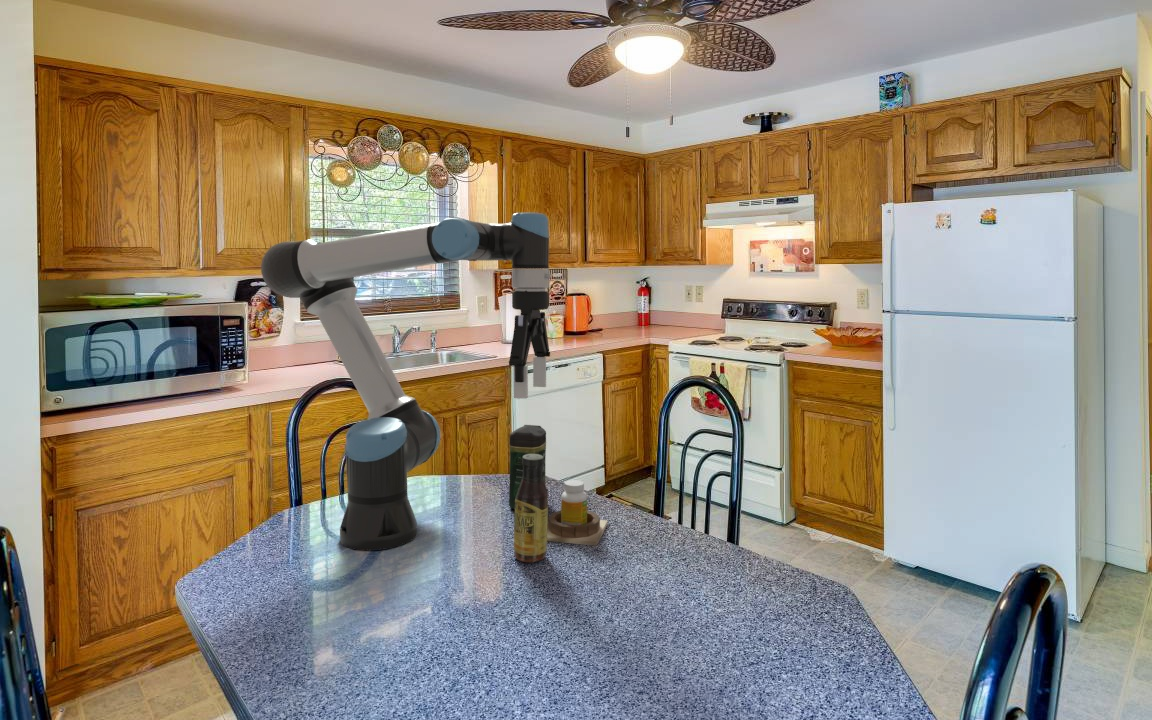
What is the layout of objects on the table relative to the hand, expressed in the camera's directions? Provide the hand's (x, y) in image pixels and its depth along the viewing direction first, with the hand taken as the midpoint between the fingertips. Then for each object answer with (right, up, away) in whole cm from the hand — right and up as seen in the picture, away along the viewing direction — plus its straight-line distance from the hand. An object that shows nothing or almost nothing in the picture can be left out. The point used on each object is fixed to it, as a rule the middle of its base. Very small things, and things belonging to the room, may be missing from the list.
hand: (530, 392), depth 143 cm
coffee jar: (-2, -27, +15) cm, 31 cm away
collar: (+9, -29, 0) cm, 30 cm away
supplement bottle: (+9, -28, 0) cm, 30 cm away
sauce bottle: (+1, -31, -13) cm, 34 cm away
